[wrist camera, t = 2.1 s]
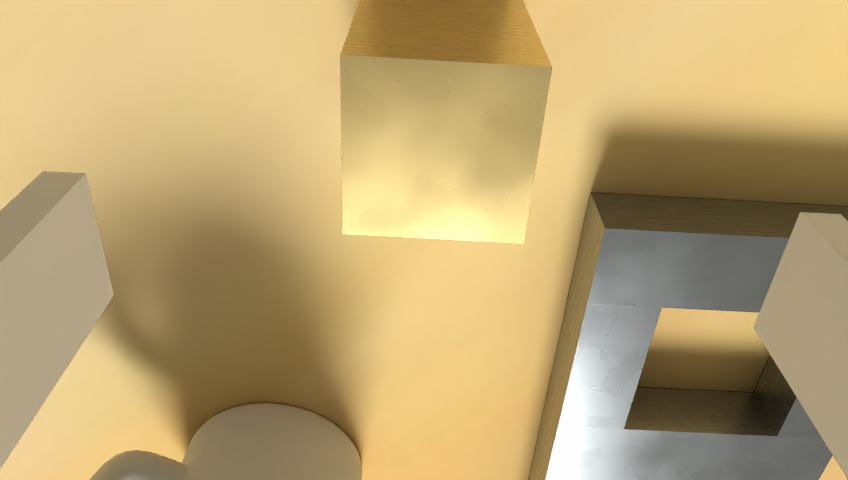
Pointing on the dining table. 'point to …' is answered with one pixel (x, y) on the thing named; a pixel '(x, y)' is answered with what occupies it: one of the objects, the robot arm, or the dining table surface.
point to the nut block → (441, 119)
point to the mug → (250, 450)
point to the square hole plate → (631, 337)
